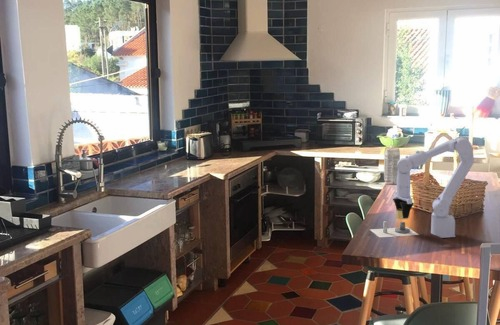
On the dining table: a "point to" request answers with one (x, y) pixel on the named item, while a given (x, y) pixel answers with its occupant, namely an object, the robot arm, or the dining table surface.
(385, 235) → the assembly board
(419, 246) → the dining table surface
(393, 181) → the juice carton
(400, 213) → the brass collar
